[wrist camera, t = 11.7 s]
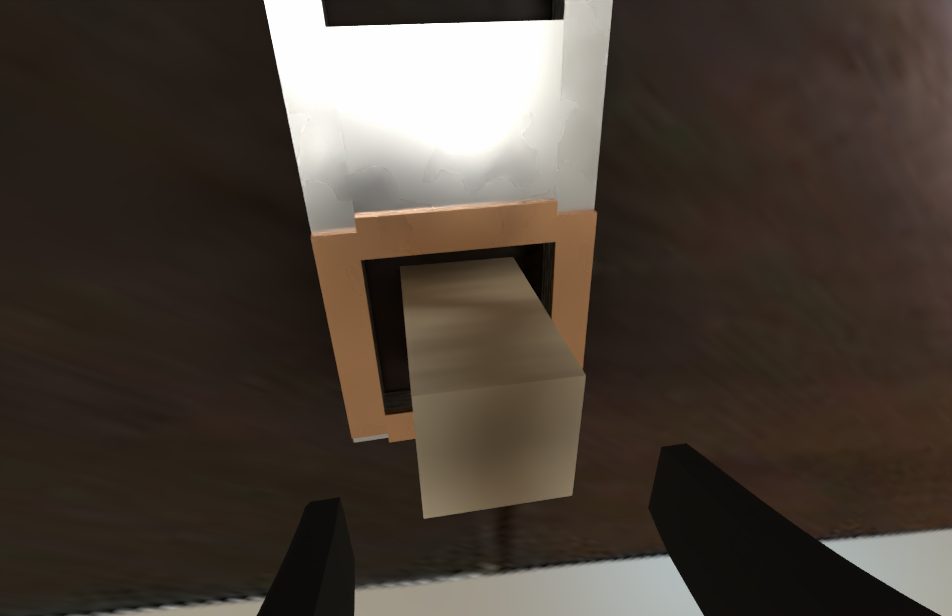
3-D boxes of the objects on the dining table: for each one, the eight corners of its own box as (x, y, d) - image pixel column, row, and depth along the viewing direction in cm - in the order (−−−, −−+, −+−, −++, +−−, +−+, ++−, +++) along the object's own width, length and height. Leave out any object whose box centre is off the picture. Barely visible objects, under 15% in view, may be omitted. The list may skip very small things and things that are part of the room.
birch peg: (409, 362, 21) (423, 518, 14) (399, 266, 19) (411, 396, 12) (510, 350, 22) (572, 495, 15) (513, 256, 20) (585, 375, 13)
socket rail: (355, 423, 22) (353, 447, 21) (188, -426, 11) (161, -490, 9) (567, 394, 24) (578, 415, 22) (627, -388, 12) (657, -439, 11)
